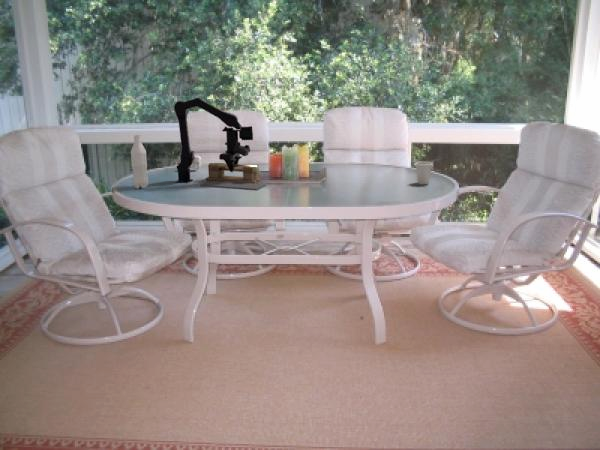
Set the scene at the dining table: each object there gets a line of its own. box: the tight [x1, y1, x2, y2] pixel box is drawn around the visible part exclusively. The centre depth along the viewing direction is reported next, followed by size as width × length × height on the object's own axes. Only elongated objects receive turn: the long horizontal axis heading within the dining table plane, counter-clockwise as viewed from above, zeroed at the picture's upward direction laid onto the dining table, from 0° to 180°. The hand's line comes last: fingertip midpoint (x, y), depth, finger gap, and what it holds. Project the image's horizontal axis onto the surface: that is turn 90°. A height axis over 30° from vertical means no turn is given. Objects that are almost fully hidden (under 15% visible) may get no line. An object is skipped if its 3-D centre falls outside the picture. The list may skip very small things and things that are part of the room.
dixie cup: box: [415, 161, 433, 185], centre depth 293 cm, size 8×8×10 cm
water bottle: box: [130, 134, 149, 190], centre depth 283 cm, size 7×7×25 cm
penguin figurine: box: [190, 154, 202, 172], centre depth 329 cm, size 6×8×12 cm
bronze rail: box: [208, 162, 259, 174], centre depth 300 cm, size 4×26×4 cm, turn 71°
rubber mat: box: [200, 181, 267, 191], centre depth 290 cm, size 11×30×1 cm, turn 71°
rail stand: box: [205, 162, 263, 184], centre depth 300 cm, size 9×27×8 cm, turn 71°
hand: (233, 171), depth 300 cm, fingers closed on bronze rail, 3 cm apart
